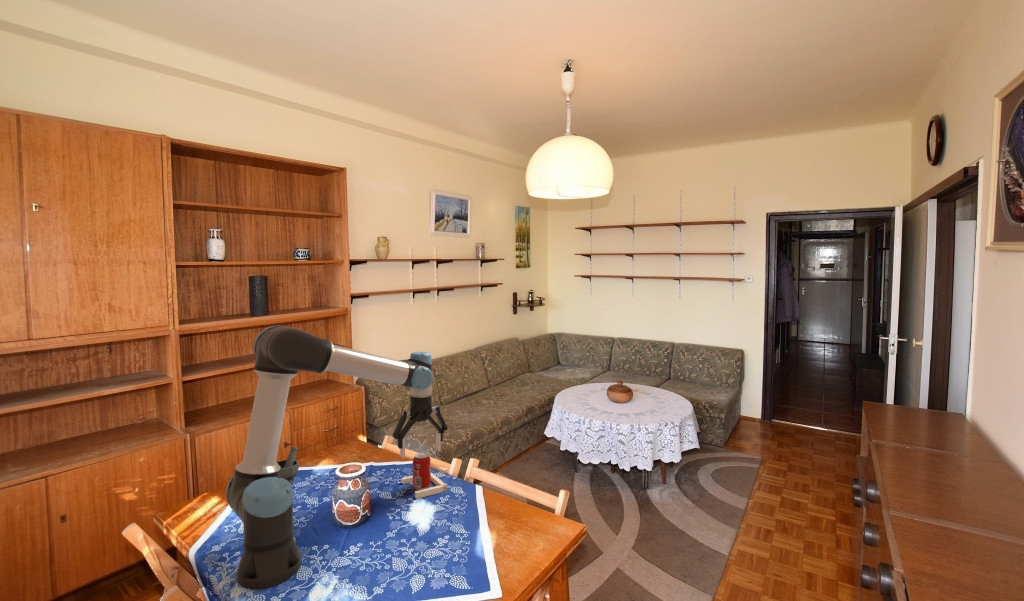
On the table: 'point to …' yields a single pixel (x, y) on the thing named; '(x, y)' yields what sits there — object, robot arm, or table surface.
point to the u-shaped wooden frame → (429, 491)
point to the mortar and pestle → (289, 466)
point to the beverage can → (421, 471)
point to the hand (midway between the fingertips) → (420, 453)
